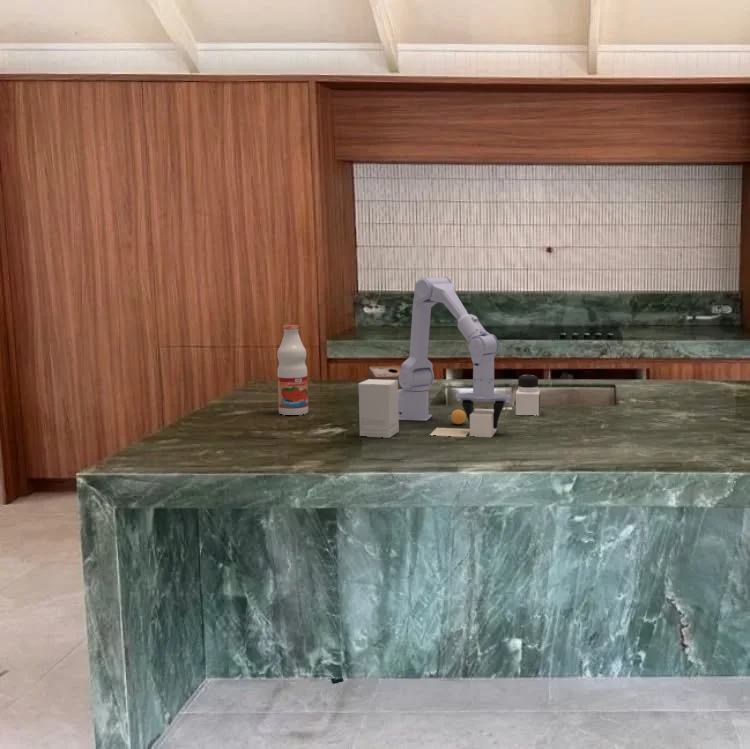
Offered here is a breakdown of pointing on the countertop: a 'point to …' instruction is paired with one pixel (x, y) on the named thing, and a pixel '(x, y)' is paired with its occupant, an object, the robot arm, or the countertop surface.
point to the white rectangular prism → (482, 423)
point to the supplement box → (378, 408)
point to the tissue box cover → (385, 373)
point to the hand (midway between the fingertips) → (483, 427)
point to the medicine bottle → (528, 396)
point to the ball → (458, 416)
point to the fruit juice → (292, 374)
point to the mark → (450, 432)
